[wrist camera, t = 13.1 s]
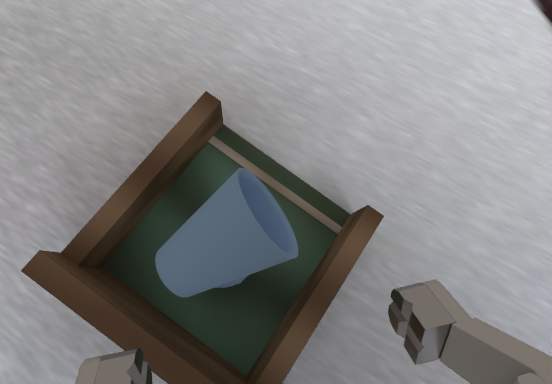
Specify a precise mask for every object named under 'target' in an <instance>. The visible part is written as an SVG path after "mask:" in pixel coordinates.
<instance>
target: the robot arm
mask: <svg viewBox="0 0 552 384" xmlns="http://www.w3.org/2000/svg"><path fill="white" fill-rule="evenodd" d="M391 298H392V299H393V302H392V303H391V304H390V305H389V311H388V313H389V318H390V322H391V324H392V327H393V328H394V330H395V332H396V334H398V335H399V336H401V337H403V338H404V347H405V349H406V350H407V352H408V354H409V355H410V357H411V359H412V360H413V362H414V364H415V365H417V364H421V363H425V362H430V361H434V360H438V359H440V361H441V362H442V363H444V364H445V365H446V366H448V367H449V368H450V369H452V370H453V371H454V372H456V373H457V374H458V375H460V376H461V377H462V378H464V379H465V380H466V381H468V382H469V383H470V384H552V357H551V356H549V355H547V354H545V353H543V352H541V351H539V350H537V349H535V348H533V347H531V346H530V345H528V344H526V343H524V342H522V341H520V340H518V339H516V338H514V337H512V336H510V335H508V334H506V333H504V332H502V331H500V330H498V329H496V328H494V327H493V326H491V325H489V324H487V323H485V322H483V321H481V320H479V319H477V318H473V319H471V317H470V316H469V315H468V314H467V313H466V312H465V311H464V309H463V308H462V307H461V306H460V305H459V304H458V302H457V301H456V300H455V299H454V298H453V297H452V295H451V294H450V293H449V292H448V291H447V290H446V289H445V287H444V286H443V285H442V284H441V283H440V282H439V281H437V280H431V281H427V282H423V283H416V284H412V285H408V286H404V287H400V288H396V289H394V290H393V291H392V293H391ZM143 356H144V354H143V352H142V350H141V348H137V349H133V350H128V351H123V352H119V353H114V354H109V355H104V356H99V357H95V358H91V359H86V360H84V362H83V364H82V365H81V367H80V370H79V373H78V377H77V380H76V383H75V384H152V373H151V369H150V366H149V364H148V363H147V362H145V361H143Z"/></svg>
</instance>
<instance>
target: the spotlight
mask: <svg viewBox="0 0 552 384" xmlns="http://www.w3.org/2000/svg"><path fill="white" fill-rule="evenodd" d="M297 256H298V245H297V241H296V238H295V235H294V232H293V230H292V228H291V226H290V224H289V222H288V220H287V218H286V216H285V214H284V212H283V211H282V209H281V207H280V206H279V204H278V203H277V201H276V200H275V198H274V197H273V196H272V194H271V193H270V192H269V190H268V189H267V188H266V187H265V186H264V184H263V183H262V182H261V181H260V180H259V179H258V178H257V177H256V176H255V175H254V174H253V173H251V172H250V171H248V170H247V169H245V168H239V169H238V170H237V171H236V172H235V173H234V174H233V175H232V176H231V177H230V178H229V179H228V180H227V181H226V182H225V183H224V184H223V185H222V186H221V187H220V188H219V189H218V190H217V191H216V192H215V193H214V194H213V195H212V196H211V197H210V198H209V199H208V200H207V201H206V202H205V203H204V204H203V205H202V206H201V207H200V208H199V209H198V210H197V211H196V212H195V213H194V214H193V215H192V216H191V217H190V218H189V219H188V220H187V221H186V222H185V223H184V224H183V225H182V226H181V227H180V228H179V229H178V230H177V231H176V232H175V233H174V235H173V236H172V237H171V238H170V239H169V240H168V241H167V242H166V243H165V244H164V245H163V246H162V247H161V248H160V249H159V250H158V251H157V253H156V258H155V264H156V269H157V272H158V274H159V277H160V279H161V280H162V282H163V283H164V285H165V286H166V287H167V288H168V289H169V290H170V291H171V292H172V293H174V294H175V295H177V296H180V297H190V296H193V295H195V294H198V293H201V292H204V291H206V290H209V289H212V288H227V287H231V286H234V285H236V284H240V283H242V281H243V280H244V279H245V278H246V277H247V276H248V275H250V274H253V273H255V272H258V271H261V270H264V269H266V268H269V267H272V266H274V265H277V264H280V263H283V262H285V261H288V260H291V259H294V258H296V257H297Z"/></svg>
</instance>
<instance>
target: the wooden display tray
mask: <svg viewBox="0 0 552 384" xmlns="http://www.w3.org/2000/svg"><path fill="white" fill-rule="evenodd" d="M239 168H245V169H247V170H248V171H250V172H251V173H253V174H254V175H255V176H256V177H257V178H258V179H259V180H260V181H261V182H262V183H263V184H264V186H265V187H266V188H267V189H268V190H269V192H270V193H271V194H272V196H273V197H274V198H275V200H276V201H277V203H278V204H279V206H280V207H281V209H282V211H283V212H284V214H285V216H286V218H287V220H288V222H289V224H290V226H291V228H292V230H293V232H294V235H295V238H296V241H297V245H298V256H297V257H296V258H294V259H291V260H288V261H285V262H283V263H280V264H277V265H274V266H272V267H269V268H266V269H264V270H261V271H258V272H255V273H253V274H250V275H248V276H247V277H246V278H245V279H244V280H243V281H242V283H240V284H236V285H234V286H231V287H227V288H212V289H209V290H206V291H204V292H201V293H198V294H195V295H193V296H190V297H180V296H177V295H175V294H174V293H172V292H171V291H170V290H169V289H168V288H167V287H166V286H165V285H164V283H163V282H162V280H161V279H160V277H159V274H158V272H157V269H156V264H155V258H156V253H157V251H158V250H159V249H160V248H161V247H162V246H163V245H164V244H165V243H166V242H167V241H168V240H169V239H170V238H171V237H172V236H173V235H174V233H175V232H176V231H177V230H178V229H179V228H180V227H181V226H182V225H183V224H184V223H185V222H186V221H187V220H188V219H189V218H190V217H191V216H192V215H193V214H194V213H195V212H196V211H197V210H198V209H199V208H200V207H201V206H202V205H203V204H204V203H205V202H206V201H207V200H208V199H209V198H210V197H211V196H212V195H213V194H214V193H215V192H216V191H217V190H218V189H219V188H220V187H221V186H222V185H223V184H224V183H225V182H226V181H227V180H228V179H229V178H230V177H231V176H232V175H233V174H234V173H235V172H236V171H237V170H238V169H239ZM383 217H384V216H383V215H382V214H380V213H379V212H377V211H376V210H375V209H373V208H372V207H370V206H369V205H367V206H365V207H363V208H362V209H360V210H358V211H356V212H354V213H352V214H349V213H348V212H346V211H345V210H344V209H342V208H341V207H339V206H338V205H336V204H335V203H334V202H332V201H331V200H329V199H328V198H327V197H325V196H324V195H322V194H321V193H319V192H318V191H317V190H315V189H314V188H312V187H311V186H310V185H308V184H307V183H305V182H304V181H302V180H301V179H300V178H298V177H297V176H295V175H294V174H293V173H291V172H290V171H288V170H287V169H286V168H284V167H283V166H281V165H280V164H278V163H277V162H276V161H274V160H273V159H271V158H270V157H269V156H267V155H266V154H264V153H263V152H261V151H260V150H259V149H257V148H256V147H254V146H253V145H252V144H250V143H249V142H247V141H246V140H244V139H243V138H242V137H240V136H239V135H237V134H236V133H235V132H233V131H232V130H230V129H229V128H227V127H226V126H225V125H223V118H222V108H221V101H219V100H218V99H217V98H215V97H214V96H212V95H211V94H209V93H208V92H207V91H206V92H205V93H204V94H203V95H202V96H201V97H200V98H199V100H198V101H197V102H196V103H195V104H194V105H193V106H192V107H191V108H190V110H189V111H188V112H187V113H186V114H185V115H184V116H183V117H182V119H181V120H180V121H179V122H178V123H177V124H176V125H175V126H174V127H173V129H172V130H171V131H170V132H169V133H168V134H167V135H166V136H165V137H164V139H163V140H162V141H161V142H160V143H159V144H158V145H157V146H156V147H155V149H154V150H153V151H152V152H151V153H150V154H149V155H148V156H147V157H146V159H145V160H144V161H143V162H142V163H141V164H140V165H139V166H138V167H137V169H136V170H135V171H134V172H133V173H132V174H131V175H130V176H129V178H128V179H127V180H126V181H125V182H124V183H123V184H122V185H121V186H120V188H119V189H118V190H117V191H116V192H115V193H114V194H113V195H112V196H111V198H110V199H109V200H108V201H107V202H106V203H105V204H104V205H103V206H102V208H101V209H100V210H99V211H98V212H97V213H96V214H95V215H94V216H93V218H92V219H91V220H90V221H89V222H88V223H87V224H86V225H85V226H84V228H83V229H82V230H81V231H80V232H79V233H78V234H77V235H76V237H75V238H74V239H73V240H72V241H71V242H70V243H69V244H68V245H67V247H66V248H65V249H64V250H63V251H62V252H61V253H58V252H49V251H41V250H39V252H38V253H37V254H36V255H35V256H34V257H33V258H32V259H31V260H30V261H29V262H28V263H27V265H26V266H25V267H24V268H23V269H22V270H21V271H22V272H23V273H24V274H26V275H27V276H28V277H30V278H31V279H32V280H34V281H35V282H36V283H37V284H39V285H40V286H41V287H43V288H44V289H45V290H47V291H48V292H49V293H50V294H52V295H53V296H54V297H56V298H57V299H58V300H60V301H61V302H62V303H63V304H65V305H66V306H67V307H69V308H70V309H71V310H73V311H74V312H75V313H77V314H78V315H79V316H80V317H82V318H83V319H84V320H86V321H87V322H88V323H90V324H91V325H92V326H93V327H95V328H96V329H97V330H99V331H100V332H101V333H103V334H104V335H105V336H107V337H108V338H109V339H110V340H112V341H113V342H114V343H116V344H117V345H118V346H120V347H121V348H122V349H123V350H125V351H128V350H133V349H137V348H141V350H142V352H143V354H144V356H143V361H145V362H147V363H148V364H149V366H150V369H151V371H152V372H153V373H155V374H156V375H157V376H159V377H160V378H161V379H163V380H164V381H165V382H166V383H168V384H282V382H283V381H284V379H285V378H286V376H287V374H288V373H289V371H290V369H291V368H292V366H293V364H294V363H295V361H296V359H297V358H298V356H299V355H300V353H301V351H302V350H303V348H304V346H305V345H306V343H307V341H308V340H309V338H310V336H311V335H312V333H313V332H314V330H315V328H316V327H317V325H318V323H319V322H320V320H321V318H322V317H323V315H324V313H325V312H326V310H327V309H328V307H329V305H330V304H331V302H332V300H333V299H334V297H335V295H336V294H337V292H338V291H339V289H340V287H341V286H342V284H343V282H344V281H345V279H346V277H347V276H348V274H349V272H350V271H351V269H352V268H353V266H354V264H355V263H356V261H357V259H358V258H359V256H360V254H361V253H362V251H363V249H364V248H365V246H366V245H367V243H368V241H369V240H370V238H371V236H372V235H373V233H374V231H375V230H376V228H377V227H378V225H379V223H380V222H381V220H382V218H383Z"/></svg>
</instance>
